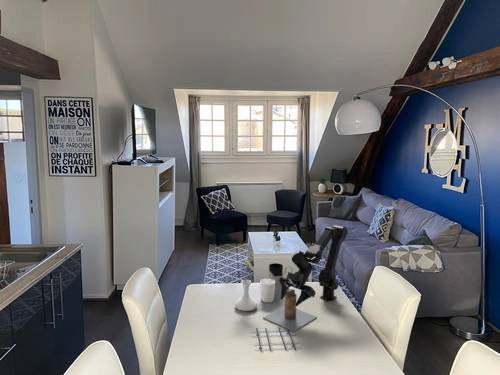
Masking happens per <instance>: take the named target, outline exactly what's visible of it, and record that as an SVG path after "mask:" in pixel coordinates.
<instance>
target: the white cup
mask: <svg viewBox="0 0 500 375" xmlns="http://www.w3.org/2000/svg"><path fill="white" fill-rule="evenodd" d="M259 284H260V300H261V301H262V302H264V303H272V302H274V301H275V295H274V294H275V280H273V279H269V278H262V279H260V282H259Z"/></svg>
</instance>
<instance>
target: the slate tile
mask: <svg viewBox="0 0 500 375" xmlns="http://www.w3.org/2000/svg"><path fill="white" fill-rule="evenodd" d="M284 316H285V305H283V306H281V307H280V308H278V309H277V310H275V311H273V312H271V313H268V314H267V315H265V316H263V317H262V319H263V320H265V321H268V322H270V323H272V324H274V325H277V326H278V327H281V328H284V329H285V330H287V331H289V332H292V333H296V332H297V331H299V330H300V329H301V328H303V327H305V326H306V325H308V324H309V323H311V322H312V321H314V320H315V319H317V318H318V317H317V316H315V315H313V314H310V313H309V312H305V311H303V310H301V309H297V308H296V318H295V319H293V320H288V319H286V318H285V317H284Z"/></svg>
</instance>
